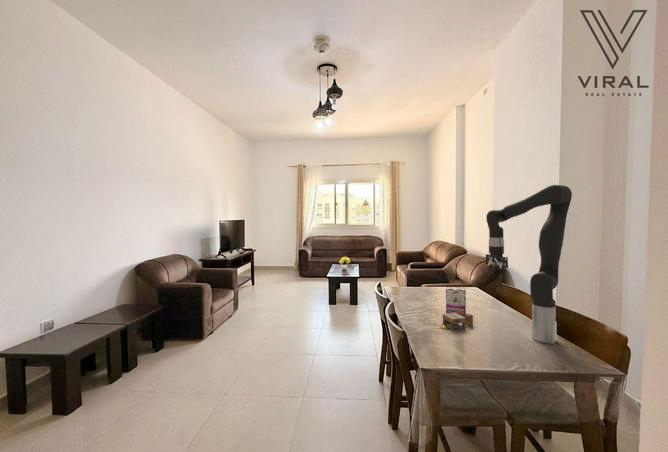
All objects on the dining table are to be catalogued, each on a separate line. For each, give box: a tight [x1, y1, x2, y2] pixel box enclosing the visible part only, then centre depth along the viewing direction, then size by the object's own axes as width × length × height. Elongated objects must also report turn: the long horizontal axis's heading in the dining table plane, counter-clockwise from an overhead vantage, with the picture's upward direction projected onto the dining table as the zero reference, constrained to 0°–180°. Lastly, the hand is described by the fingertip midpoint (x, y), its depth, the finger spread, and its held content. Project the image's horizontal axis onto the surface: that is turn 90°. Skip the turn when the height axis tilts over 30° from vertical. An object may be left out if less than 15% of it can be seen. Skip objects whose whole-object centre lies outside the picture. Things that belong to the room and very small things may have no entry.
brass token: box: [439, 324, 449, 330], centre depth 158 cm, size 4×4×1 cm
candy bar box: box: [445, 286, 467, 317], centre depth 178 cm, size 11×5×16 cm, turn 62°
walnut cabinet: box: [442, 313, 466, 331], centre depth 159 cm, size 8×9×6 cm
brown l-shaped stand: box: [445, 312, 474, 329], centre depth 160 cm, size 15×4×6 cm, turn 102°
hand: (496, 273), depth 163 cm, fingers open, 8 cm apart
